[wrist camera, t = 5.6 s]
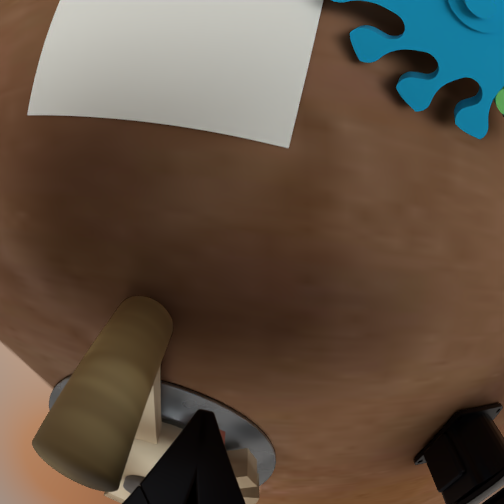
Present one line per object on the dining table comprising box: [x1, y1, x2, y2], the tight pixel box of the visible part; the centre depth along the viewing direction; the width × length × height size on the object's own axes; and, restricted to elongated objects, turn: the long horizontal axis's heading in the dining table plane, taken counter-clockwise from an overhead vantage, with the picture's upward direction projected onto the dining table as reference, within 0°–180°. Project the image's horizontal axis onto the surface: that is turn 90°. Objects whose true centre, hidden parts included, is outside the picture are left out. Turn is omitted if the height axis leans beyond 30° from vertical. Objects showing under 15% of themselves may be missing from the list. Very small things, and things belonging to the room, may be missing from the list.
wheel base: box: [49, 375, 276, 486], centre depth 16 cm, size 16×16×1 cm
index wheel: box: [32, 296, 259, 504], centre depth 11 cm, size 14×18×7 cm
